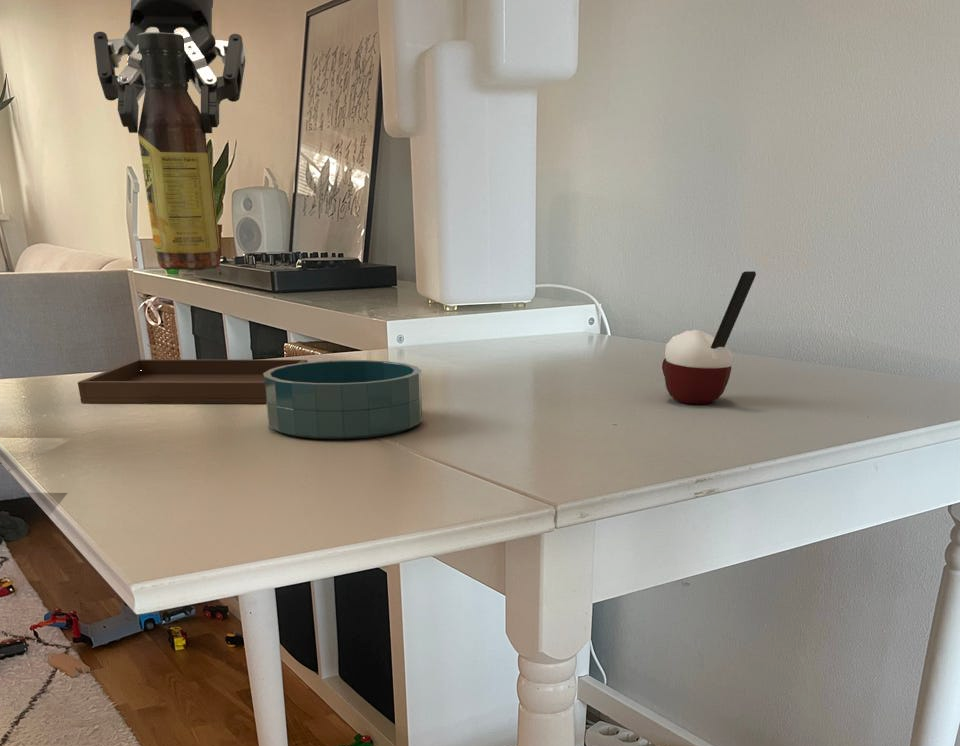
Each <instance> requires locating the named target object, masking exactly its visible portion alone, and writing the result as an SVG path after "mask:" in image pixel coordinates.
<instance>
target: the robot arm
mask: <svg viewBox="0 0 960 746" xmlns="http://www.w3.org/2000/svg"><path fill="white" fill-rule="evenodd" d="M213 7H214V0H130V12H129V13H130V16H129V28H128V30H127V31H126V33H125V34H124V36H123V38H114V39H113V38H112V39H109V38H108V35H107V33H106V32H104V31H97V32H95V33H94V34H93V44H94V54H95V62H96V63H95V64H96V71H97V77H98V80H99V82H100V86H101V90H102V92H103V95H104V98H105V100H107V101H111V102H112V101H115V100H117V113H118V116H119V119H120V123H121V125H122V127H123V128H127V130H128V133H129V134H138V129H139V108H140V107H139V106H140V105H139V101H140V99H141V97H143V96H144V95H145V86H144V83H145V77H144V69H143V62H142V56H141V54H140V52H139V49H138V38H137V35H138V34H140V33H145V32H159V33H173V34H179V35H182V36H183V38H184V47H185V54H184V63H185V72H186V80H187V82H188V83H191V84H192V85H193V87H194V88H195V90H196V91H197V92H198V94H199V95H200V113H201V120H202V124H203V129H204V133H206V134H213V128H218V127H219V125H220V104H221V103H222V101H224V100H228V101H229V102H232V103H233V102H234V103H235V102H238V101H239V100H240V97H241V92H242V86H243V79H244V74H245V73H244V72H245V66H246V57H245V49H244V42H243V37H242V36H241V34H239V33H231V34H230V35H229V36H228V40H223V39H222V40H221V39H216V38H215V36H214V35H213ZM125 55H127V60H126V62H127V63H126V66H125V67H124V68H123V69H122V71H121V72H120V73H119V75H116V69H118V68H119V67H120V64H119V63H120V62H121V61H122V57H123V56H125ZM217 56H218V57H219V58H221V62H222V64H224V65H223V72H222V75H221V76H216V75H215V74H214V73H213V70H212V69H211V68H210V66H209V65H211V63H213V62H214V61H215V59H216V58H217Z"/></svg>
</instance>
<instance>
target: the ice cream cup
mask: <svg viewBox="0 0 960 746" xmlns="http://www.w3.org/2000/svg"><path fill="white" fill-rule="evenodd" d="M756 276H757V273H756V271H755V270H754V271H751V270H750V271H748V270H747V271H743V272H741V275H740V277H739V280H738V282H737V284H736V287H735V289H734V291H733V294H732V296H731V299H730V300H729V303H728V306H727V307H726V309H725V313H724V315H723V317H722V318H721V319H722V320H721V322H720V324H719V326H718V329H717V332H716V334H715V336H713V335H711V334H709V333H707V332H705V331H702V330H699V329H692V330H686V331H683V332H682V333H679V334H675V335H673V336H672V338H670V340H669V341H668V342H667V343H666V344H665V351H664V352H665V354H664V357H665V358H664V359H663V360H662V363H661V364H662V365H661V369H662V373H663V377H664V382H665V388H666V391H667V392H668V394H669V396H671V398H673V400H675V401H676V402H679V403H684V404H689V405H690V404H691V405H707V404H711V403H713V402H715V401H716V400H717V399H719V398H720V397H721V396H722V395H723V394H724V392H725V390H726V388H727V385H728V383H729V380H730V377H731V372H732V367H733V365H734V364H733V363H734V361H735V360H734V359H735V357H734V355H733V353H732V352H731V351H730V349H729V348H728V347H727V346H726V344H727V343H728V340H729V338H730V336H731V333H732V331H733V328H734V326H735V324H736V322H737V319H738V318H739V315H740V313H741V310H742V309H743V307H744V304H745V301H746V299H747V297H748V294H749V292H750V290H751V288H752V285H753V284H754V281H755V278H756Z"/></svg>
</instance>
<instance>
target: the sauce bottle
mask: <svg viewBox="0 0 960 746" xmlns="http://www.w3.org/2000/svg"><path fill="white" fill-rule="evenodd" d="M137 38H138V49H139V52H140V54H141V56H142V62H143V69H144V77H145V83H144V86H145V93H144V95H143V101H142V102H143V103H142V108H141V114H140V119H139V123H138V133H137V135H138V144H139V151H140V157H141V158H140V159H141V165H142V173H143V180H144V187H145V193H146V194H145V195H146V201H147V207H148V214H149V222H150V228H151V229H150V230H151V234H152V236H151V237H152V242H153V243H152V244H153V249H154V252H155V253H156V254H157V263H158V265H159V267H160V268H161V269H163V270H166V271H167V270H168V271H170V270H174V271H175V270H177V271H178V270H180V271H189V270H191V271H205V270H210V269H217V268H218V267H220V265H221V258H220V252H219V250H220V247H221V246H220V236H219V228H218V227H219V226H218V220H217V211H216V202H215V194H214V193H215V192H214V184H213V175H212V167H211V158H210V150H209V149H208V144H207V143H208V142H207V135H206V134H207V133H204V129H203V124H202V120H201V110H200V109H199V107H198V105H196V103H195V102H194V100H193V99H192V97H191V95H190V94H189V91H188V89H189V82H187V80H186V72H185V63H184V54H185V47H184V38H183V36H182V35H179V34H173V33H159V32H145V33H140V34H138V35H137Z"/></svg>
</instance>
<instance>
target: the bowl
mask: <svg viewBox="0 0 960 746" xmlns="http://www.w3.org/2000/svg"><path fill="white" fill-rule="evenodd" d="M263 377H264V388H265V398H266V404H265V407H266V408H265V409H266V418H267V419H266V420H267V424H268V426H269V428H270V429H272V430H275V431H276V432H279V433H282V434H285V435H287V436H290V437H291V436H292V437H296V438H305V439H314V440H358V439H368V438H377V437H384V436H389V435H394V434H398V433H402V432H405V431H407V430H410V429H411V428H414V427H415V426H418V425H420V424H421V422H422V420H423V396H422V395H423V392H422V390H423V389H422V369H421V368H419V367H418V366H416V365H412V364H408V363H404V362H397V361H390V360H389V361H387V360H371V359H370V360H369V359H367V360H366V359H340V360H319V361H308V362H306V363H298V364H291V365H285V366H280V367H276V368H273V369H270V370H268V371H266V372H265V373H263Z"/></svg>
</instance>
